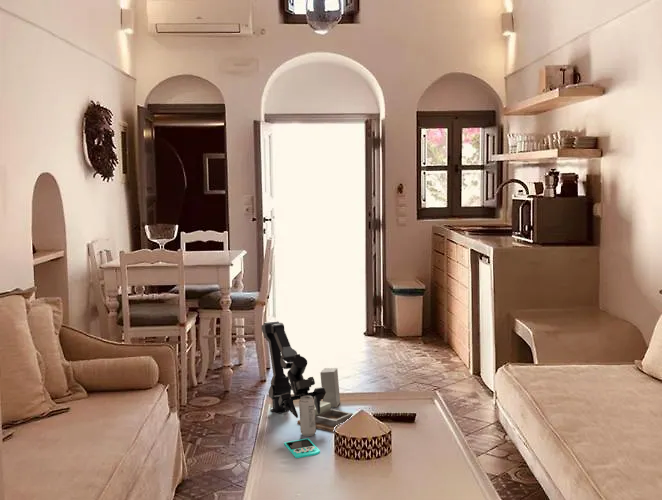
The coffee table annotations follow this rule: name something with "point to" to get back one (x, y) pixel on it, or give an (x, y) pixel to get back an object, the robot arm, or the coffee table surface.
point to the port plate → (329, 417)
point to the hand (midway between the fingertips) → (308, 415)
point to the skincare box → (330, 386)
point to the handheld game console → (302, 448)
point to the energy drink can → (307, 415)
